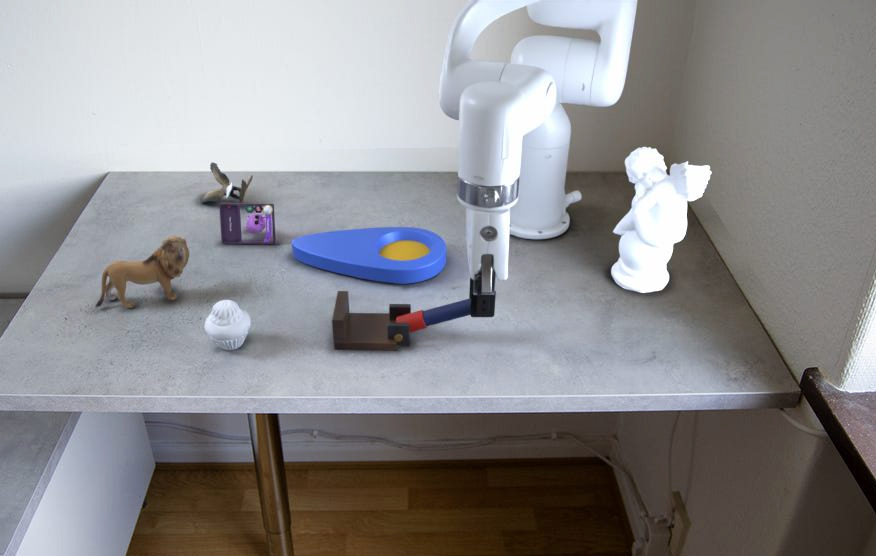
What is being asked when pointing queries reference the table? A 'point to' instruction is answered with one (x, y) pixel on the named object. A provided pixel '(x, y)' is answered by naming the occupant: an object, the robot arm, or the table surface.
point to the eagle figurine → (224, 187)
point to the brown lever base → (368, 327)
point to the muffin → (228, 325)
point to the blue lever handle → (436, 315)
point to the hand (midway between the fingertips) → (481, 307)
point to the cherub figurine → (654, 218)
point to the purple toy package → (254, 224)
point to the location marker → (375, 253)
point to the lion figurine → (147, 271)
